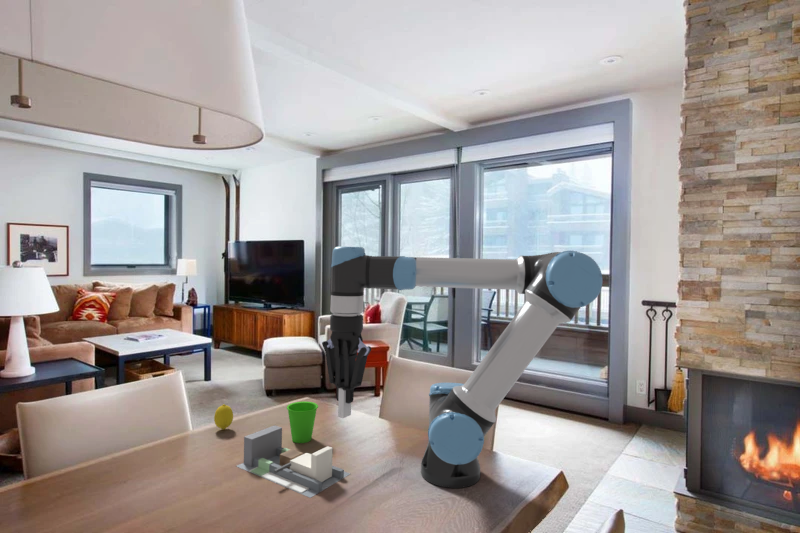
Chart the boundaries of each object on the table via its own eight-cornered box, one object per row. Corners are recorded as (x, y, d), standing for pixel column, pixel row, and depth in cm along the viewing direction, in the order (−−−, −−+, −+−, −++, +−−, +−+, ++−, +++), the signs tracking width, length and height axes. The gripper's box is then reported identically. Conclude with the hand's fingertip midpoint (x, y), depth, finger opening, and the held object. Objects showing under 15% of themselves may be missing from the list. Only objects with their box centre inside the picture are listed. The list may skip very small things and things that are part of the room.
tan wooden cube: (302, 468, 115) (302, 452, 115) (290, 474, 112) (291, 458, 112) (291, 464, 117) (291, 448, 117) (279, 470, 114) (279, 454, 114)
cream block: (331, 476, 111) (332, 447, 110) (299, 495, 102) (299, 463, 101) (306, 466, 115) (306, 439, 115) (273, 483, 106) (273, 454, 106)
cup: (313, 450, 129) (314, 411, 128) (282, 449, 129) (282, 410, 129) (320, 437, 138) (320, 401, 137) (290, 436, 138) (291, 400, 138)
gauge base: (350, 478, 113) (351, 445, 113) (310, 503, 101) (310, 466, 101) (278, 451, 127) (278, 422, 127) (235, 470, 115) (236, 438, 115)
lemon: (236, 429, 143) (237, 403, 143) (221, 434, 138) (221, 408, 138) (225, 425, 146) (225, 400, 146) (210, 430, 141) (210, 405, 141)
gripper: (379, 314, 104) (377, 417, 104) (336, 310, 111) (333, 406, 111) (359, 317, 98) (356, 427, 98) (314, 312, 105) (312, 414, 105)
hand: (344, 415), depth 105 cm, fingers closed
